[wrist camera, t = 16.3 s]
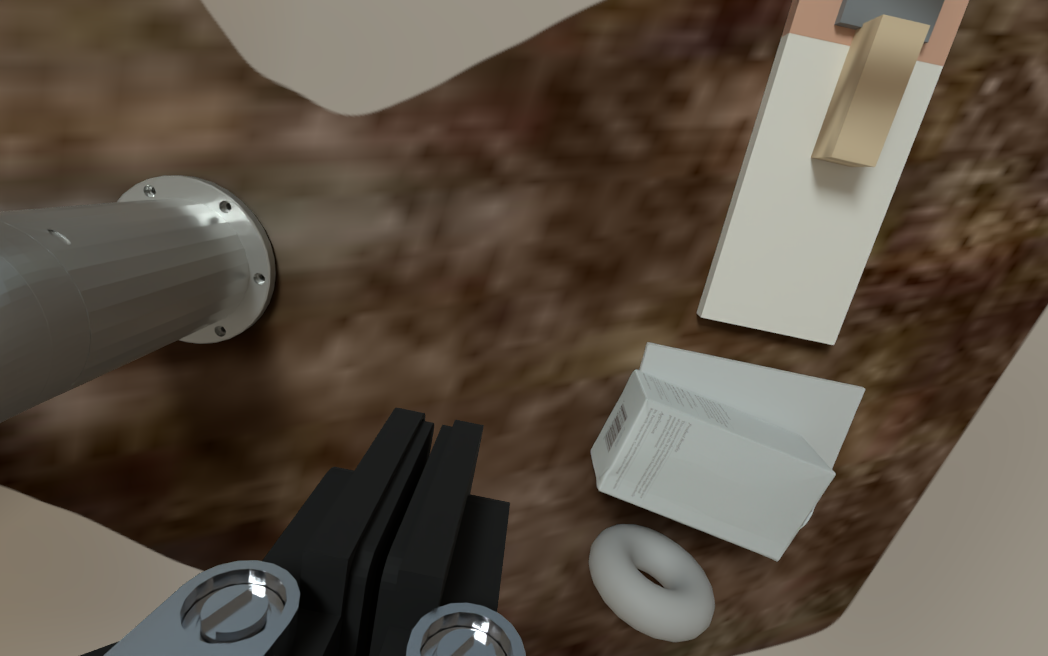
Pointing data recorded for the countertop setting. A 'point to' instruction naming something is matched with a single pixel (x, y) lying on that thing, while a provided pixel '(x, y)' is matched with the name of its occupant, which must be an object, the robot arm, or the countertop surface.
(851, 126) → the turner
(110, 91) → the countertop surface
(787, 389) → the mat
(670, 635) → the donut
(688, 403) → the skincare box
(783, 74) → the board
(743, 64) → the countertop surface
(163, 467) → the countertop surface
